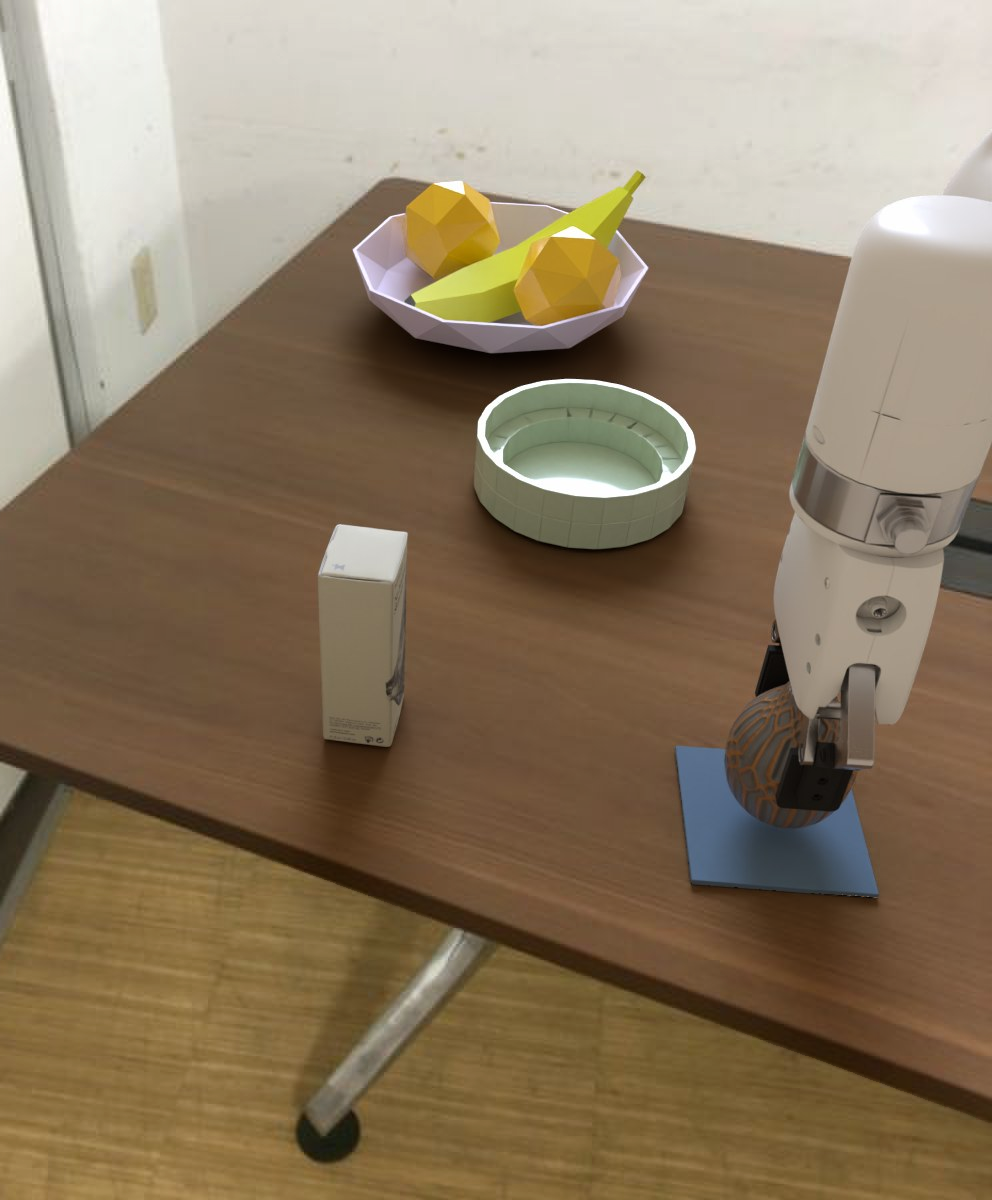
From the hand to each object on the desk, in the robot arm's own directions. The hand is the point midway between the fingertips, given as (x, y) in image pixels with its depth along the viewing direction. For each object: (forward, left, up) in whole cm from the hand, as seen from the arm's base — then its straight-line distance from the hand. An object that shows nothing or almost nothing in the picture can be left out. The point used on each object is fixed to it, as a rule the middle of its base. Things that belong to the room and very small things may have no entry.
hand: (794, 749), depth 67 cm
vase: (0, 0, -4) cm, 4 cm away
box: (+24, -6, -6) cm, 26 cm away
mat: (0, 0, -6) cm, 6 cm away
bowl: (+10, -32, -6) cm, 34 cm away
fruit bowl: (+16, -60, -6) cm, 62 cm away
